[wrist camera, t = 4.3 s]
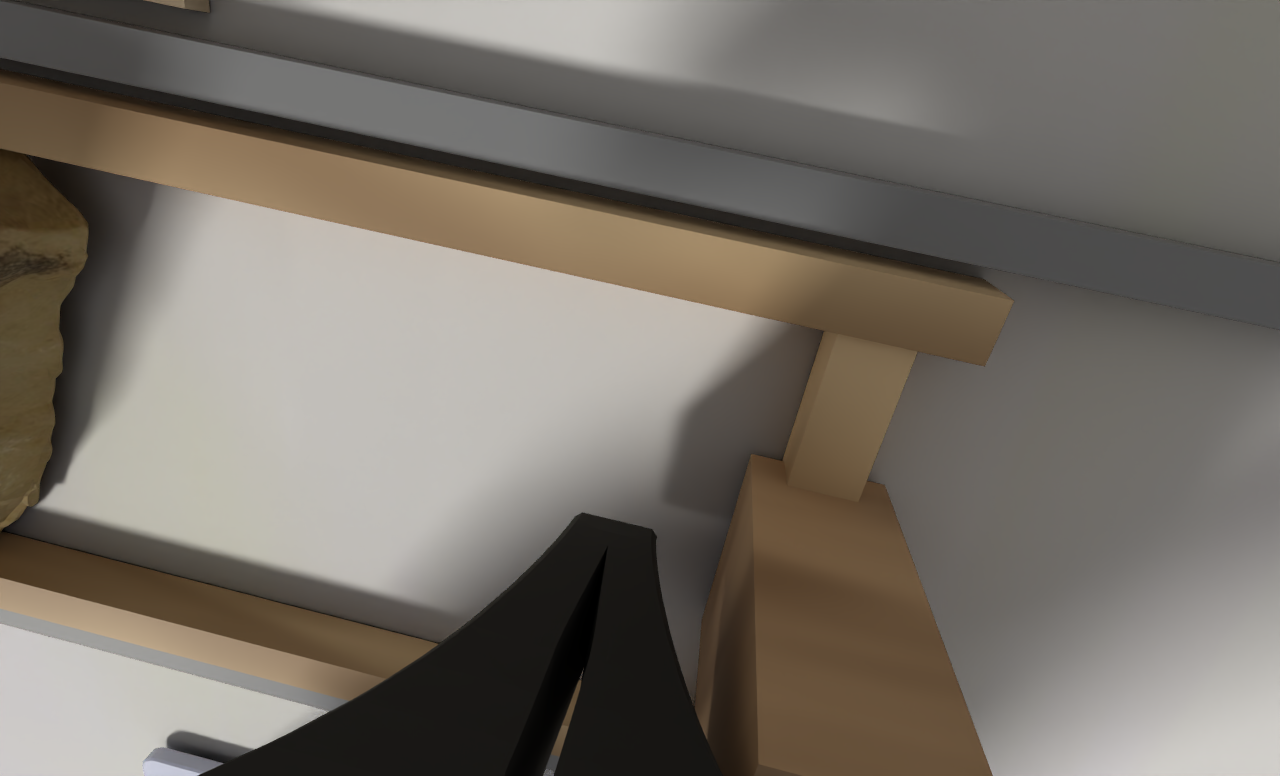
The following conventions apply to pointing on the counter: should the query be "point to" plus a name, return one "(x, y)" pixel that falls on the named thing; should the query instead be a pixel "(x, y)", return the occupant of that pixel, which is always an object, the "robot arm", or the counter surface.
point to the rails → (631, 166)
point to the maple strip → (186, 4)
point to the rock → (31, 321)
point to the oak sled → (770, 493)
